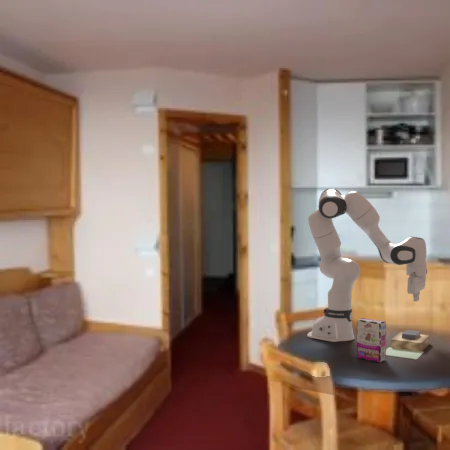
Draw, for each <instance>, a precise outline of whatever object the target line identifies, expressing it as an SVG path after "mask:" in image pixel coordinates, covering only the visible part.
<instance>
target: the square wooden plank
mask: <svg viewBox="0 0 450 450" xmlns="http://www.w3.org/2000/svg"><path fill="white" fill-rule="evenodd" d="M403 332H404V331H403ZM403 332H402V331H400V332H398V334H396V335H394V337H392V338H391V340H390V342H391V343H390V344H391V346H390V347H391V348H399V349H406V350H414V351H422V352H424V350H425V349H426V348H427V347H428V346H429V345H430V334H429V335H428V334H422V333H420V336H419V337H418V338H417V339H416V340H413V339H405V338H402V333H403Z"/></svg>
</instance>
